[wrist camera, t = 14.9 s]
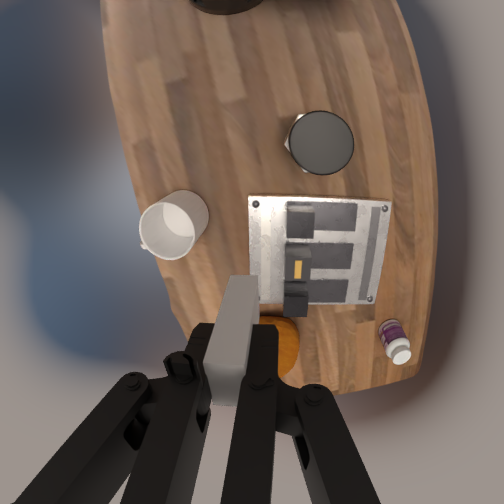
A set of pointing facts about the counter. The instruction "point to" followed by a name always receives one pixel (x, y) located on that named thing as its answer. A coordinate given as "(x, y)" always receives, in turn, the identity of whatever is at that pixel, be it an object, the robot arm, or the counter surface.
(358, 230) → the panel
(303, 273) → the handle
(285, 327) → the bread
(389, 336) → the pill bottle
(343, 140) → the jar
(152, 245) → the mug
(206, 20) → the counter surface
